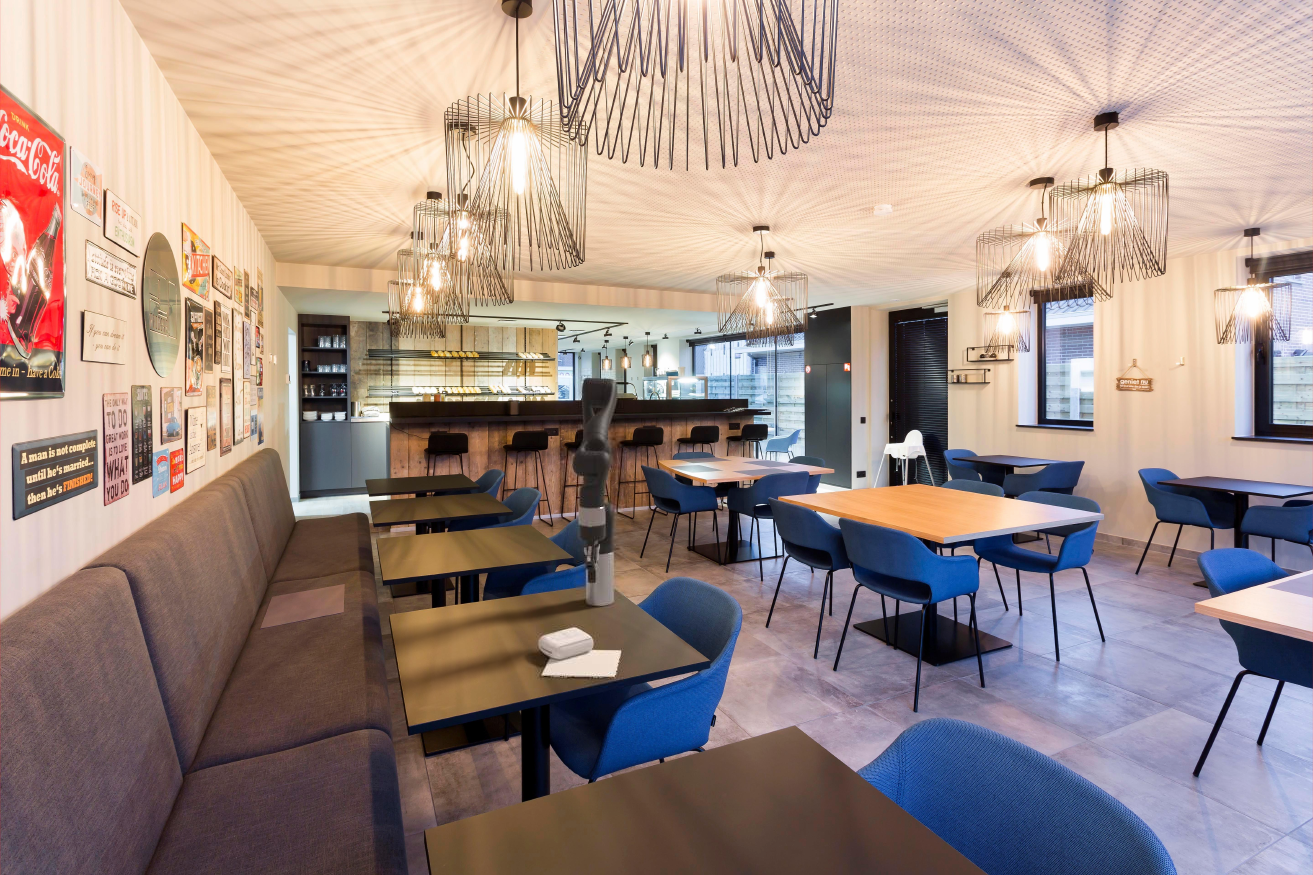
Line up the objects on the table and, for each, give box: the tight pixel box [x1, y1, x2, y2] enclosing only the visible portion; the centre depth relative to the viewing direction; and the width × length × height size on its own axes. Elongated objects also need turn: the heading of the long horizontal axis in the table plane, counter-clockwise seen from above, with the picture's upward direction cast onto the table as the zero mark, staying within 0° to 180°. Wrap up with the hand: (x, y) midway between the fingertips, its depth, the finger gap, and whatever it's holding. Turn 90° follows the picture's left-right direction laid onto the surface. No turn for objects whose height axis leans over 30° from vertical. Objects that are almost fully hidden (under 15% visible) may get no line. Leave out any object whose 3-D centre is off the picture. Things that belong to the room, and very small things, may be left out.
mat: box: [541, 649, 622, 679], centre depth 162 cm, size 16×18×1 cm
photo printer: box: [538, 627, 594, 659], centre depth 168 cm, size 10×4×12 cm
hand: (592, 582), depth 179 cm, fingers closed
